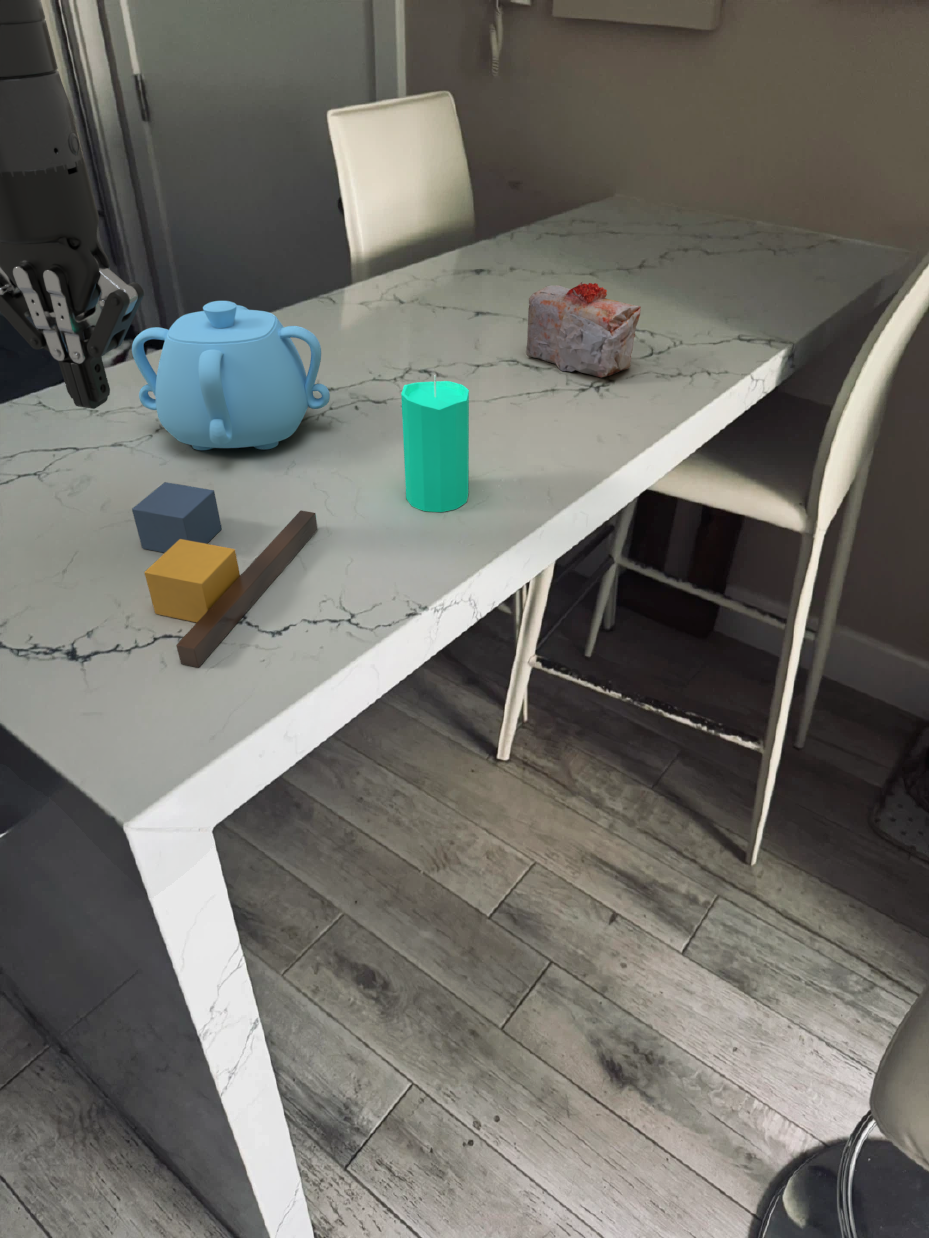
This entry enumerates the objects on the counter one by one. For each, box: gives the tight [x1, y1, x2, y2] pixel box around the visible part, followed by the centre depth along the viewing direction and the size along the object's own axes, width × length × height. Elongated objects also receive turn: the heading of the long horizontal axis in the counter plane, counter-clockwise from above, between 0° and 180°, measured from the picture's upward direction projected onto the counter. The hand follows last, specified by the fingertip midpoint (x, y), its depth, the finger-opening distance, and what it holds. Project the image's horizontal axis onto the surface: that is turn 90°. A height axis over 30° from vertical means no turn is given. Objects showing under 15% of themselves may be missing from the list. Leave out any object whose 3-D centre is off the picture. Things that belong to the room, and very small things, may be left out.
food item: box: [525, 281, 642, 379], centre depth 107 cm, size 14×8×10 cm, turn 50°
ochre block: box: [143, 539, 241, 623], centre depth 68 cm, size 5×5×4 cm
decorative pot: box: [131, 300, 331, 451], centre depth 90 cm, size 16×16×14 cm
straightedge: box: [176, 509, 318, 669], centre depth 70 cm, size 20×2×2 cm, turn 162°
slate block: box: [131, 481, 223, 554], centre depth 76 cm, size 5×5×4 cm
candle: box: [400, 374, 470, 513], centre depth 79 cm, size 6×6×12 cm
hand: (92, 403), depth 68 cm, fingers closed
